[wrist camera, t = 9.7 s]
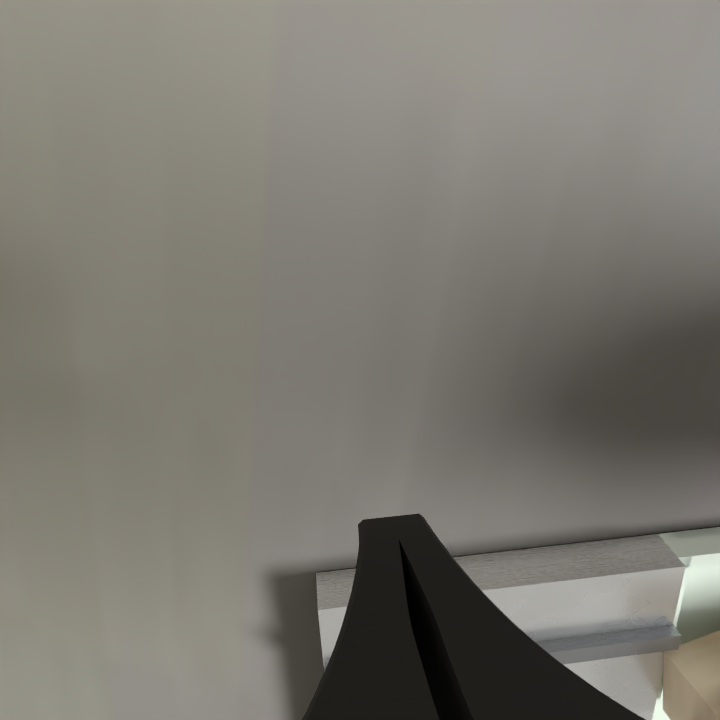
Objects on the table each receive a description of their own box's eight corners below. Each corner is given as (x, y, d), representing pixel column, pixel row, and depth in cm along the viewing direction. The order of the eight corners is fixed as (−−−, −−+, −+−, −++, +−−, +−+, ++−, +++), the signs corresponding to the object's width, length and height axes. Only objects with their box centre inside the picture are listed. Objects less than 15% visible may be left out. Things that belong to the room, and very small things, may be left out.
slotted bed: (657, 533, 26) (694, 576, 24) (618, 744, 32) (644, 796, 29) (316, 573, 25) (318, 622, 23) (337, 784, 31) (340, 841, 28)
